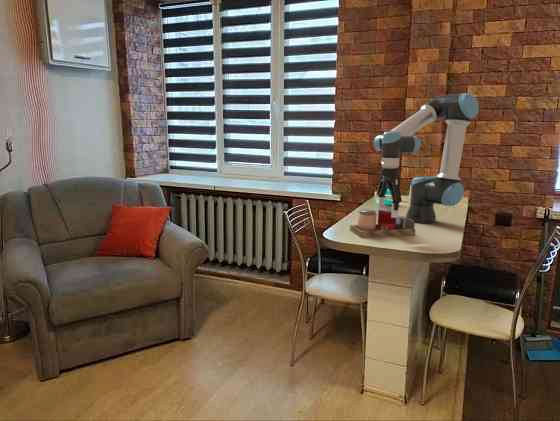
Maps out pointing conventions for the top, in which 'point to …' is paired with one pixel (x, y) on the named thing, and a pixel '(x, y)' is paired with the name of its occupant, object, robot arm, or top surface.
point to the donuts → (387, 201)
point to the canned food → (386, 219)
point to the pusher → (400, 223)
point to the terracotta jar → (367, 220)
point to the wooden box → (373, 233)
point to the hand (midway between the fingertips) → (387, 214)
